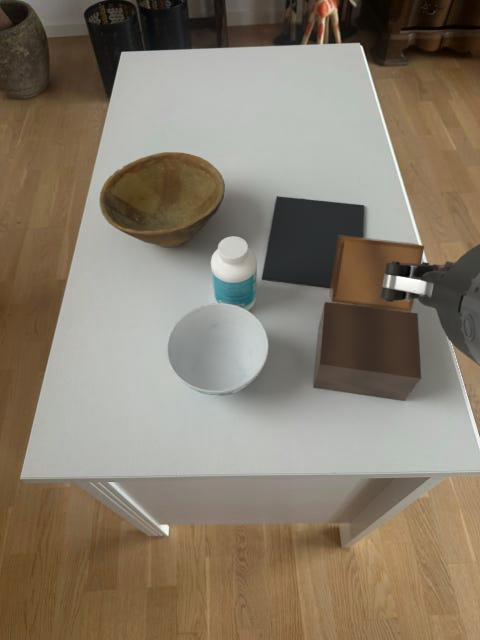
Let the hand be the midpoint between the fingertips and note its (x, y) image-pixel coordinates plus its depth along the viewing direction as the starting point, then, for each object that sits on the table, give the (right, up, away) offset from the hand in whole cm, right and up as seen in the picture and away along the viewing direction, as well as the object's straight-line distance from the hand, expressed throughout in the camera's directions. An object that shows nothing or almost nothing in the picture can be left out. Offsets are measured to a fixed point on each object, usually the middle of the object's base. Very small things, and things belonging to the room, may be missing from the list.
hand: (437, 277), depth 38 cm
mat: (-2, +12, +48) cm, 49 cm away
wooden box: (+4, +3, +28) cm, 29 cm away
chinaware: (-20, -12, +34) cm, 41 cm away
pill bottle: (-18, 0, +41) cm, 45 cm away
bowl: (-31, +14, +51) cm, 61 cm away
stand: (+2, -11, +33) cm, 35 cm away
